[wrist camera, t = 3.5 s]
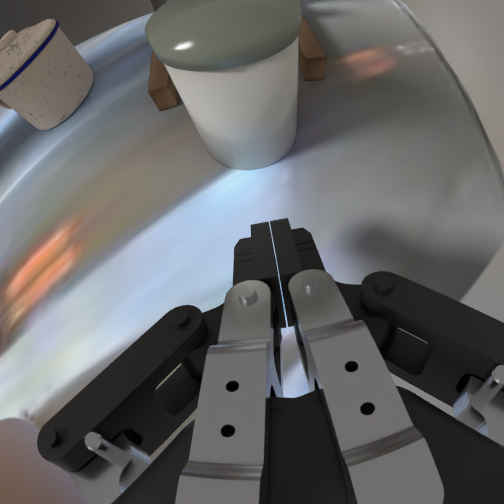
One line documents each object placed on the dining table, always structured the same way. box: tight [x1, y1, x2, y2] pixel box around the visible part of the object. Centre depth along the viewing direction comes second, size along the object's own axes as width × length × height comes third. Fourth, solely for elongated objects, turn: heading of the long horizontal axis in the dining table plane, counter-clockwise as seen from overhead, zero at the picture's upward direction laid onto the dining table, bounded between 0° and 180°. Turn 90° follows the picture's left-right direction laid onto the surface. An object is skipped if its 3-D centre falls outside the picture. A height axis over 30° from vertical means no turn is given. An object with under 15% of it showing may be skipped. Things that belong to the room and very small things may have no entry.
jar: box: [145, 0, 302, 170], centre depth 13 cm, size 7×7×10 cm
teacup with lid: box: [0, 19, 94, 130], centre depth 17 cm, size 12×9×12 cm
